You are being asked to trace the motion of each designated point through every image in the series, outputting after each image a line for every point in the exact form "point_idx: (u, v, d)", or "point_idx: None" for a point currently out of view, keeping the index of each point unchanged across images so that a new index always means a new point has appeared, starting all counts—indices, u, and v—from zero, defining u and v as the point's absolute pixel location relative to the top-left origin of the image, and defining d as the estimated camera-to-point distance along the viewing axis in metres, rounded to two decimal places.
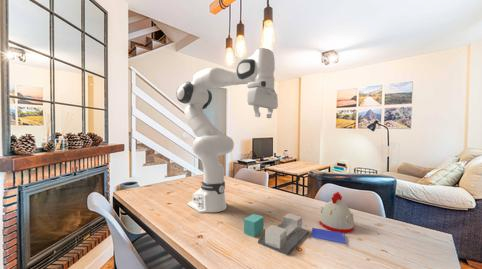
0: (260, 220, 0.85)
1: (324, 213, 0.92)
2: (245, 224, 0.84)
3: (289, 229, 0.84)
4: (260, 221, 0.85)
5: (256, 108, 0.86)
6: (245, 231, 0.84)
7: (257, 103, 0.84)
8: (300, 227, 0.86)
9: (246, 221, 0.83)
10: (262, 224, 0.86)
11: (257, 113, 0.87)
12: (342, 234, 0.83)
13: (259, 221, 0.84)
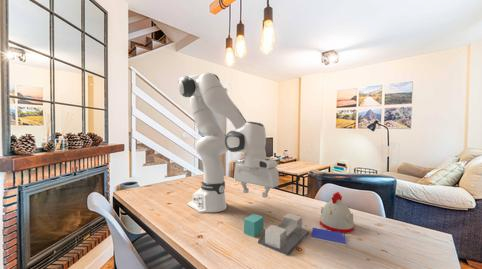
0: (260, 220, 0.85)
1: (324, 213, 0.92)
2: (245, 224, 0.84)
3: (289, 229, 0.84)
4: (260, 221, 0.85)
5: (269, 188, 0.81)
6: (245, 231, 0.84)
7: None
8: (300, 227, 0.86)
9: (246, 221, 0.83)
10: (262, 224, 0.86)
11: (267, 193, 0.82)
12: (342, 234, 0.83)
13: (259, 220, 0.84)
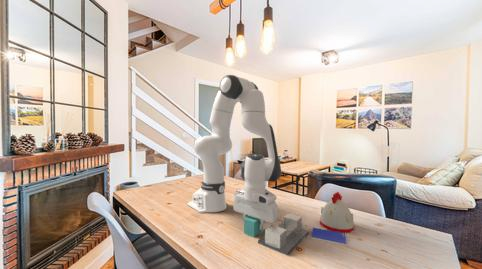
0: None
1: (324, 213, 0.92)
2: (245, 224, 0.84)
3: (289, 229, 0.84)
4: None
5: (264, 221, 0.83)
6: (245, 231, 0.84)
7: None
8: (300, 227, 0.86)
9: (246, 221, 0.83)
10: None
11: (262, 226, 0.83)
12: (342, 234, 0.83)
13: (259, 220, 0.84)
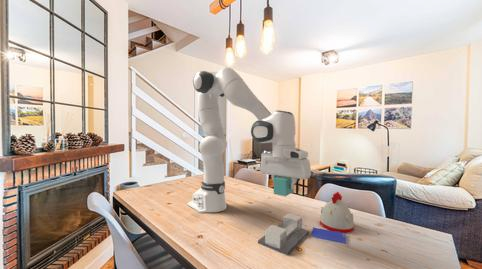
0: (290, 180, 0.80)
1: (324, 213, 0.92)
2: (275, 183, 0.79)
3: (289, 229, 0.84)
4: (291, 181, 0.80)
5: (296, 180, 0.78)
6: (275, 191, 0.79)
7: None
8: (300, 227, 0.86)
9: (276, 180, 0.79)
10: None
11: (293, 185, 0.78)
12: (343, 234, 0.83)
13: (290, 180, 0.79)
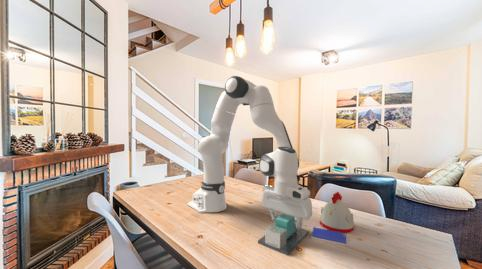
0: (292, 220, 0.80)
1: (324, 213, 0.92)
2: (276, 224, 0.80)
3: None
4: (292, 221, 0.81)
5: (301, 219, 0.77)
6: None
7: None
8: (300, 227, 0.86)
9: (277, 221, 0.79)
10: (293, 224, 0.82)
11: (298, 224, 0.78)
12: (343, 234, 0.83)
13: (291, 220, 0.80)
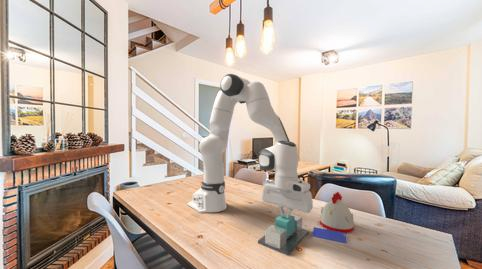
0: (292, 220, 0.80)
1: (324, 213, 0.92)
2: (276, 224, 0.80)
3: None
4: (292, 221, 0.81)
5: (291, 210, 0.80)
6: None
7: None
8: (300, 227, 0.86)
9: (277, 221, 0.79)
10: (293, 224, 0.82)
11: (289, 214, 0.80)
12: (343, 234, 0.83)
13: (291, 220, 0.80)
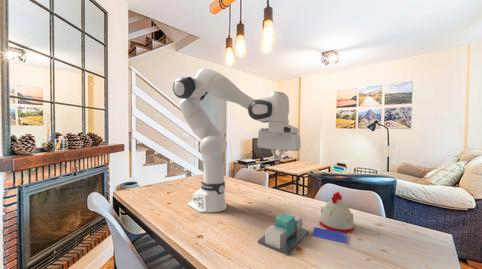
0: (292, 220, 0.80)
1: (324, 213, 0.92)
2: (276, 224, 0.80)
3: None
4: (292, 221, 0.81)
5: (282, 152, 0.91)
6: None
7: None
8: (300, 227, 0.86)
9: (277, 221, 0.79)
10: (293, 224, 0.82)
11: (280, 156, 0.92)
12: (344, 234, 0.83)
13: (291, 220, 0.80)
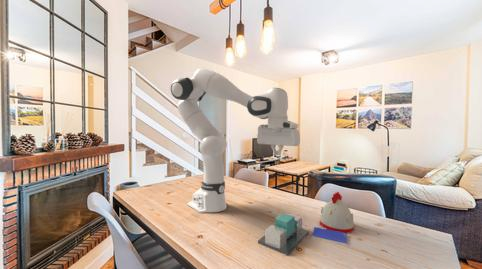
0: (292, 220, 0.80)
1: (324, 213, 0.92)
2: (276, 224, 0.80)
3: None
4: (292, 221, 0.81)
5: (282, 147, 0.92)
6: None
7: None
8: (300, 227, 0.86)
9: (277, 221, 0.79)
10: (293, 224, 0.82)
11: (280, 152, 0.93)
12: (344, 234, 0.83)
13: (291, 220, 0.80)
